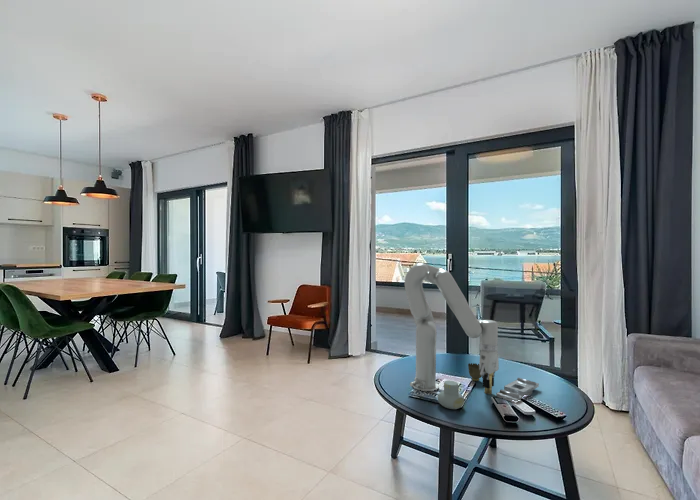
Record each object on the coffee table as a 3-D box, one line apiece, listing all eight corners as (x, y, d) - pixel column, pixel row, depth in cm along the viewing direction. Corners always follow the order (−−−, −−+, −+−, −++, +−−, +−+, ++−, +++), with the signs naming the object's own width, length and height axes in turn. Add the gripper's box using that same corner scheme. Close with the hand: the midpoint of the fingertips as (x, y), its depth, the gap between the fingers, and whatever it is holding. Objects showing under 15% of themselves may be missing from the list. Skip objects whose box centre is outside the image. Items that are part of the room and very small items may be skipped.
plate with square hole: (516, 403, 152) (516, 393, 152) (496, 396, 159) (496, 387, 159) (538, 389, 168) (538, 381, 168) (519, 384, 175) (519, 376, 175)
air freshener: (452, 400, 155) (452, 377, 155) (467, 407, 148) (467, 383, 148) (434, 405, 149) (434, 382, 149) (449, 413, 142) (449, 388, 142)
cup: (484, 384, 174) (484, 367, 174) (468, 382, 176) (469, 366, 176) (481, 378, 182) (482, 363, 182) (467, 377, 183) (467, 362, 183)
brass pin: (490, 395, 160) (490, 373, 160) (481, 392, 163) (481, 371, 163) (494, 393, 163) (495, 371, 163) (486, 390, 166) (486, 369, 166)
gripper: (487, 352, 155) (487, 393, 155) (504, 345, 166) (504, 384, 166) (472, 348, 161) (471, 388, 161) (489, 342, 172) (489, 380, 171)
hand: (488, 386), depth 163 cm, fingers closed on brass pin, 3 cm apart
